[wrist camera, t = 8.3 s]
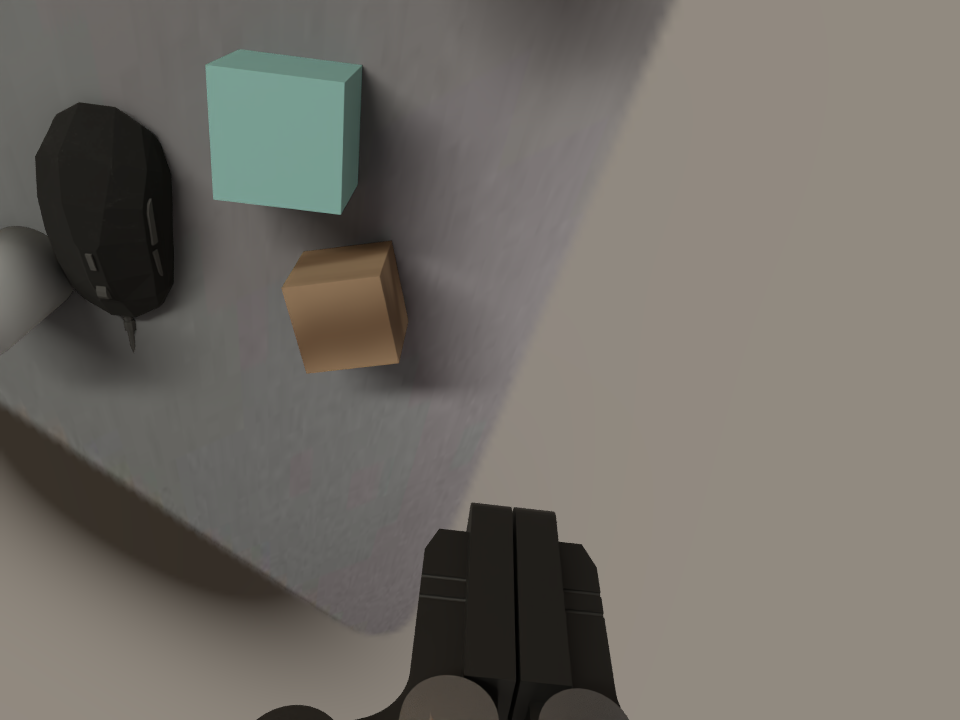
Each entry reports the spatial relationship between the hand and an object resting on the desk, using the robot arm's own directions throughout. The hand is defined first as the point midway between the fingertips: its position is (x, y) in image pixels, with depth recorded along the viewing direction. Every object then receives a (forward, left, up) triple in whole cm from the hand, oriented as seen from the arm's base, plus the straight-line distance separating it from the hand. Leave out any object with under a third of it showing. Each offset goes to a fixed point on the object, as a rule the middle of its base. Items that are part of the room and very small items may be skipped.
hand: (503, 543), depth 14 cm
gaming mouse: (+8, -20, -30) cm, 37 cm away
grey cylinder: (+10, -26, -29) cm, 40 cm away
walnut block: (+9, -7, -29) cm, 31 cm away
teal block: (0, -10, -29) cm, 31 cm away
